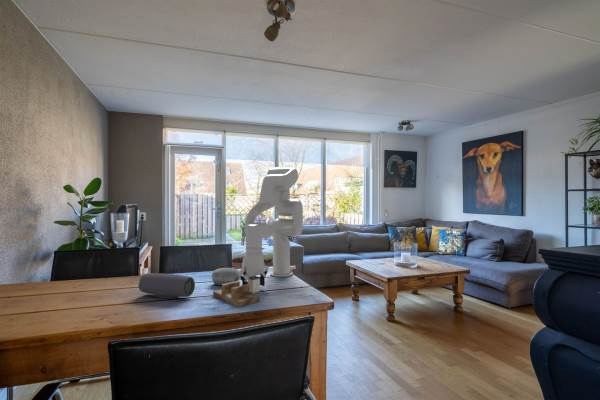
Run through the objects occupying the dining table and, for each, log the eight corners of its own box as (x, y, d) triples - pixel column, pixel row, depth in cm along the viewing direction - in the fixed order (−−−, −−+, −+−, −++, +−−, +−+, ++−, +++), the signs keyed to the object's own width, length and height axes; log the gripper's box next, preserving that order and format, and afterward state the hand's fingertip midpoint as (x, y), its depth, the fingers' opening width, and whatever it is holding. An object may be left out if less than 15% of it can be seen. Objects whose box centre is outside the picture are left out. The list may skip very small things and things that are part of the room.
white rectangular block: (254, 289, 150) (254, 275, 150) (259, 291, 148) (259, 277, 147) (247, 291, 148) (247, 277, 147) (252, 293, 145) (252, 278, 145)
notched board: (232, 291, 147) (232, 278, 147) (259, 301, 133) (259, 287, 133) (213, 295, 140) (213, 282, 140) (239, 307, 126) (239, 292, 126)
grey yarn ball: (242, 274, 165) (236, 260, 161) (241, 287, 157) (235, 272, 152) (217, 280, 165) (210, 266, 161) (214, 293, 157) (207, 279, 152)
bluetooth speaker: (195, 295, 140) (195, 273, 140) (182, 302, 131) (182, 278, 131) (152, 291, 146) (152, 269, 146) (137, 297, 137) (137, 274, 137)
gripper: (263, 247, 156) (263, 282, 156) (233, 252, 144) (233, 289, 144) (273, 249, 151) (273, 285, 151) (243, 254, 138) (243, 293, 139)
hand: (253, 287), depth 147 cm, fingers open, 9 cm apart
